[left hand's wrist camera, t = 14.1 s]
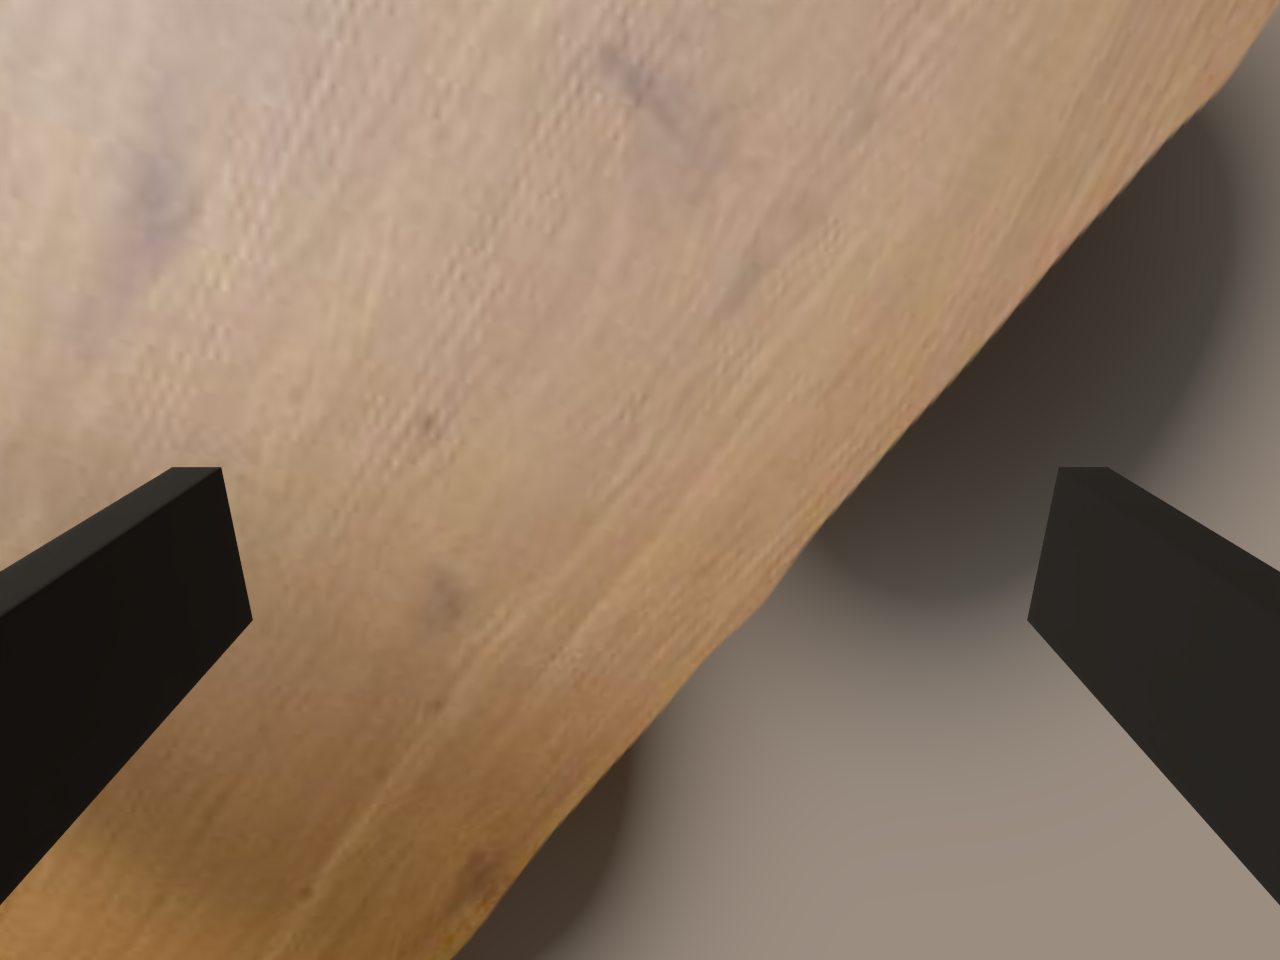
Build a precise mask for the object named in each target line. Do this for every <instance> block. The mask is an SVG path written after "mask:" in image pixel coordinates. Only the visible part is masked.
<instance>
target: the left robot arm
mask: <svg viewBox="0 0 1280 960" xmlns="http://www.w3.org/2000/svg"><path fill="white" fill-rule="evenodd" d="M252 620H253V619H252V614H251V609H250V604H249V600H248V595H247V590H246V585H245V580H244V575H243V571H242V566H241V561H240V556H239V551H238V546H237V542H236V537H235V532H234V527H233V522H232V517H231V512H230V508H229V503H228V498H227V493H226V488H225V483H224V479H223V474H222V469H221V467H172V468H170V469H169V470H167V471H165V472H164V473H162V474H160V475H159V476H157V477H156V478H154V479H152V480H151V481H149V482H147V483H146V484H144V485H142V486H141V487H139V488H137V489H136V490H134V491H132V492H131V493H129V494H128V495H126V496H124V497H123V498H121V499H119V500H118V501H116V502H114V503H113V504H111V505H109V506H108V507H106V508H104V509H103V510H101V511H100V512H98V513H96V514H95V515H93V516H91V517H90V518H88V519H86V520H85V521H83V522H81V523H80V524H78V525H77V526H75V527H73V528H72V529H70V530H68V531H67V532H65V533H63V534H62V535H60V536H58V537H57V538H55V539H53V540H52V541H50V542H49V543H47V544H45V545H44V546H42V547H40V548H39V549H37V550H35V551H34V552H32V553H30V554H29V555H27V556H25V557H24V558H22V559H21V560H19V561H17V562H16V563H14V564H12V565H11V566H9V567H7V568H6V569H4V570H2V571H1V572H0V905H1V904H2V903H3V901H4V900H5V899H6V898H7V897H8V896H9V895H10V893H11V892H12V891H13V890H14V889H15V888H16V887H17V886H18V884H19V883H20V882H21V881H22V880H23V879H24V878H25V877H26V875H27V874H28V873H29V872H30V871H31V870H32V869H33V868H34V866H35V865H36V864H37V863H38V862H39V861H40V860H41V859H42V857H43V856H44V855H45V854H46V853H47V852H48V851H49V849H50V848H51V847H52V846H53V845H54V844H55V843H56V842H57V840H58V839H59V838H60V837H61V836H62V835H63V834H64V833H65V831H66V830H67V829H68V828H69V827H70V826H71V825H72V824H73V822H74V821H75V820H76V819H77V818H78V817H79V816H80V815H81V813H82V812H83V811H84V810H85V809H86V808H87V807H88V805H89V804H90V803H91V802H92V801H93V800H94V799H95V798H96V796H97V795H98V794H99V793H100V792H101V791H102V790H103V789H104V787H105V786H106V785H107V784H108V783H109V782H110V781H111V780H112V778H113V777H114V776H115V775H116V774H117V773H118V772H119V771H120V769H121V768H122V767H123V766H124V765H125V764H126V763H127V761H128V760H129V759H130V758H131V757H132V756H133V755H134V754H135V752H136V751H137V750H138V749H139V748H140V747H141V746H142V745H143V743H144V742H145V741H146V740H147V739H148V738H149V737H150V736H151V734H152V733H153V732H154V731H155V730H156V729H157V728H158V727H159V725H160V724H161V723H162V722H163V721H164V720H165V719H166V717H167V716H168V715H169V714H170V713H171V712H172V711H173V710H174V708H175V707H176V706H177V705H178V704H179V703H180V702H181V701H182V699H183V698H184V697H185V696H186V695H187V694H188V693H189V692H190V690H191V689H192V688H193V687H194V686H195V685H196V684H197V682H198V681H199V680H200V679H201V678H202V677H203V676H204V675H205V673H206V672H207V671H208V670H209V669H210V668H211V667H212V666H213V664H214V663H215V662H216V661H217V660H218V659H219V658H220V657H221V655H222V654H223V653H224V652H225V651H226V650H227V649H228V648H229V646H230V645H231V644H232V643H233V642H234V641H235V640H236V638H237V637H238V636H239V635H240V634H241V633H242V632H243V631H244V629H245V628H246V627H247V626H248V625H249V624H250V623H251V622H252ZM1027 620H1028V622H1029V623H1030V624H1031V625H1032V626H1033V627H1034V628H1035V629H1036V631H1037V632H1038V633H1039V634H1040V635H1041V636H1042V637H1043V638H1044V640H1045V641H1046V642H1047V643H1048V644H1049V645H1050V646H1051V647H1052V649H1053V650H1054V651H1055V652H1056V653H1057V654H1058V655H1059V656H1060V658H1061V659H1062V660H1063V661H1064V662H1065V663H1066V664H1067V666H1068V667H1069V668H1070V669H1071V670H1072V671H1073V672H1074V673H1075V675H1076V676H1077V677H1078V678H1079V679H1080V680H1081V681H1082V682H1083V684H1084V685H1085V686H1086V687H1087V688H1088V689H1089V690H1090V692H1091V693H1092V694H1093V695H1094V696H1095V697H1096V698H1097V699H1098V701H1099V702H1100V703H1101V704H1102V705H1103V706H1104V707H1105V708H1106V710H1107V711H1108V712H1109V713H1110V714H1111V715H1112V716H1113V717H1114V719H1115V720H1116V721H1117V722H1118V723H1119V724H1120V725H1121V727H1122V728H1123V729H1124V730H1125V731H1126V732H1127V733H1128V734H1129V736H1130V737H1131V738H1132V739H1133V740H1134V741H1135V742H1136V743H1137V744H1138V746H1139V747H1140V748H1141V749H1142V750H1143V751H1144V752H1145V754H1146V755H1147V756H1148V757H1149V758H1150V759H1151V760H1152V761H1153V763H1154V764H1155V765H1156V766H1157V767H1158V768H1159V769H1160V771H1161V772H1162V773H1163V774H1164V775H1165V776H1166V777H1167V778H1168V780H1169V781H1170V782H1171V783H1172V784H1173V785H1174V786H1175V787H1176V788H1177V790H1178V791H1179V792H1180V793H1181V794H1182V795H1183V796H1184V798H1185V799H1186V800H1187V801H1188V802H1189V803H1190V804H1191V805H1192V807H1193V808H1194V809H1195V810H1196V811H1197V812H1198V813H1199V815H1200V816H1201V817H1202V818H1203V819H1204V820H1205V821H1206V822H1207V824H1208V825H1209V826H1210V827H1211V828H1212V829H1213V830H1214V831H1215V833H1216V834H1217V835H1218V836H1219V837H1220V838H1221V839H1222V840H1223V842H1224V843H1225V844H1226V845H1227V846H1228V847H1229V848H1230V849H1231V851H1232V852H1233V853H1234V854H1235V855H1236V856H1237V857H1238V858H1239V860H1240V861H1241V862H1242V863H1243V864H1244V865H1245V866H1246V867H1247V869H1248V870H1249V871H1250V872H1251V873H1252V874H1253V875H1254V877H1255V878H1256V879H1257V880H1258V881H1259V882H1260V883H1261V884H1262V886H1263V887H1264V888H1265V889H1266V890H1267V891H1268V892H1269V893H1270V895H1271V896H1272V897H1273V898H1274V899H1275V900H1276V901H1277V902H1278V904H1279V905H1280V572H1279V571H1278V570H1276V569H1274V568H1273V567H1271V566H1269V565H1268V564H1266V563H1264V562H1263V561H1261V560H1259V559H1258V558H1256V557H1254V556H1253V555H1251V554H1250V553H1248V552H1246V551H1245V550H1243V549H1241V548H1240V547H1238V546H1236V545H1235V544H1233V543H1231V542H1230V541H1228V540H1227V539H1225V538H1223V537H1222V536H1220V535H1218V534H1217V533H1215V532H1213V531H1212V530H1210V529H1208V528H1207V527H1205V526H1203V525H1202V524H1200V523H1199V522H1197V521H1195V520H1194V519H1192V518H1190V517H1189V516H1187V515H1185V514H1184V513H1182V512H1180V511H1179V510H1177V509H1175V508H1174V507H1172V506H1171V505H1169V504H1167V503H1166V502H1164V501H1162V500H1161V499H1159V498H1157V497H1156V496H1154V495H1152V494H1151V493H1149V492H1148V491H1146V490H1144V489H1143V488H1141V487H1139V486H1138V485H1136V484H1134V483H1133V482H1131V481H1129V480H1128V479H1126V478H1124V477H1123V476H1121V475H1119V474H1118V473H1116V472H1115V471H1113V470H1111V469H1110V468H1108V467H1059V469H1058V474H1057V479H1056V483H1055V488H1054V493H1053V498H1052V503H1051V508H1050V513H1049V517H1048V522H1047V527H1046V532H1045V537H1044V542H1043V546H1042V551H1041V556H1040V561H1039V566H1038V571H1037V575H1036V580H1035V585H1034V590H1033V595H1032V600H1031V604H1030V609H1029V614H1028V619H1027Z"/></svg>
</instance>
